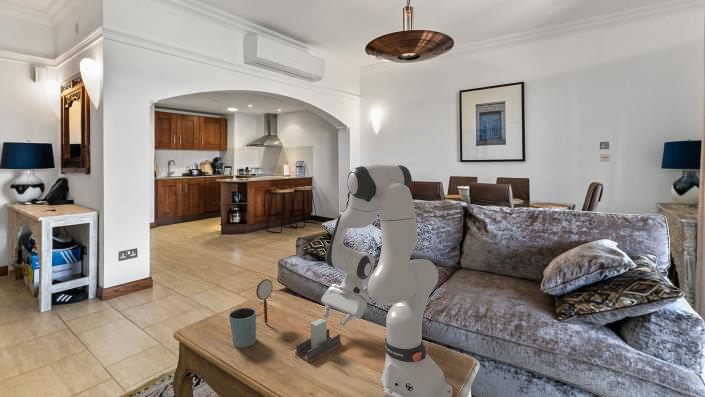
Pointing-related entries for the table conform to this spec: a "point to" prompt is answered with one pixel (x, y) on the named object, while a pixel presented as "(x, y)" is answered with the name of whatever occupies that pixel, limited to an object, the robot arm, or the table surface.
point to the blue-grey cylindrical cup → (243, 327)
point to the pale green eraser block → (318, 332)
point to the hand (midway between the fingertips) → (333, 320)
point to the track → (317, 348)
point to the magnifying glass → (264, 294)
